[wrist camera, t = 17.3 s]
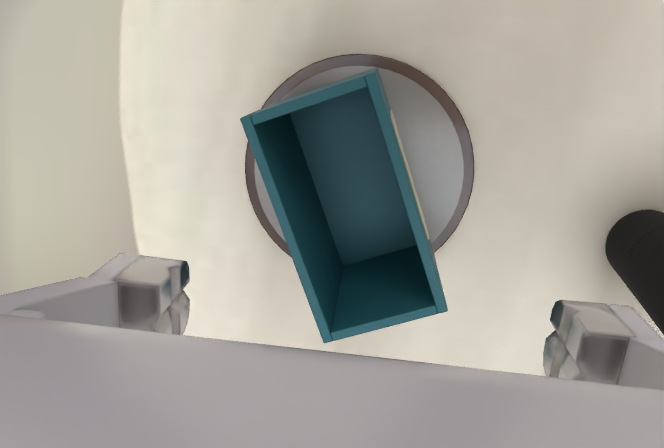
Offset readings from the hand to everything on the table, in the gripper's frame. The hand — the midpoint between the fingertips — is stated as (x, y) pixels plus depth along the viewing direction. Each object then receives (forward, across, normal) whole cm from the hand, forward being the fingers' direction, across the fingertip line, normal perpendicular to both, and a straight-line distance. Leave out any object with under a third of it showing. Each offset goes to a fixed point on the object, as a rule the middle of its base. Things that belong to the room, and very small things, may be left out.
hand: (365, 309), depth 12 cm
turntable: (+26, +1, +2) cm, 26 cm away
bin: (+24, +1, +2) cm, 24 cm away
